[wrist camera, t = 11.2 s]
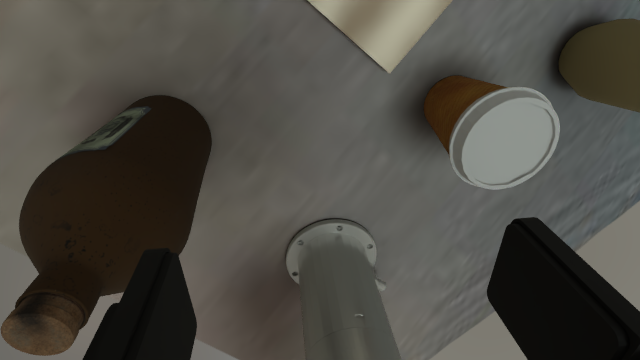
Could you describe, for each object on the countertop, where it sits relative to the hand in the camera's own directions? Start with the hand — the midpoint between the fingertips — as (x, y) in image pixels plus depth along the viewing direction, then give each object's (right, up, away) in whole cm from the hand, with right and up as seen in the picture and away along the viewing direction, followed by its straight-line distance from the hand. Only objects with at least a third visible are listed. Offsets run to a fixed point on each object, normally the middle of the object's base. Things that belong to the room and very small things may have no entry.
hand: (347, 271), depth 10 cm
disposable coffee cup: (+14, +11, +31) cm, 36 cm away
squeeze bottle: (+28, +17, +30) cm, 44 cm away
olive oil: (-17, +8, +29) cm, 34 cm away
